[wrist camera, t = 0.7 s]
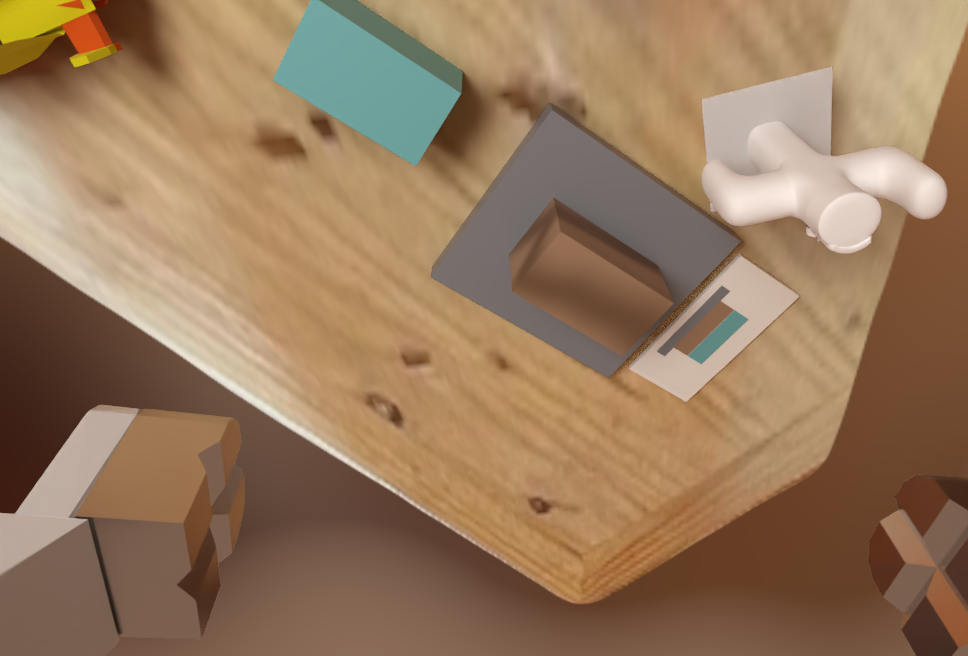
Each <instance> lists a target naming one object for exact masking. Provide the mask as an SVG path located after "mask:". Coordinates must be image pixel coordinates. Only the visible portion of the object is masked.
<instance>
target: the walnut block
mask: <svg viewBox="0 0 968 656" xmlns="http://www.w3.org/2000/svg"><path fill="white" fill-rule="evenodd" d="M509 259H510V272H511V285H512V292H513V293H515V294H516V295H518V296H520V297H522V298H523V299H525V300H527V301H528V302H530V303H532V304H533V305H535V306H537V307H539V308H540V309H542V310H544V311H545V312H547V313H549V314H551V315H552V316H554V317H556V318H557V319H559V320H561V321H563V322H564V323H566V324H568V325H569V326H571V327H573V328H575V329H576V330H578V331H580V332H581V333H583V334H585V335H587V336H588V337H590V338H592V339H593V340H595V341H597V342H599V343H600V344H602V345H604V346H605V347H607V348H609V349H611V350H612V351H614V352H616V353H617V354H619V355H621V356H624V355H625V354H626V353H627V352H628V351H629V349H630V348H631V347H632V346H633V345H634V344H635V343H636V342H637V341H638V340H639V339H640V338H641V337H642V336H643V335H644V334H645V333H646V332H647V331H648V330H649V329H650V328H651V327H652V326H653V325H654V324H655V323H656V321H657V320H658V319H659V318H660V317H661V316H662V315H663V314H664V313H665V312H666V311H667V310H668V309H669V308H670V307H671V306H672V305H673V304H674V302H673V300H672V298H671V295H670V293H669V291H668V288H667V286H666V284H665V282H664V279H663V277H662V275H661V272H660V270H659V268H658V265H656V264H655V263H653V262H652V261H650V260H649V259H647V258H646V257H644V256H643V255H641V254H640V253H638V252H636V251H635V250H633V249H632V248H630V247H629V246H627V245H626V244H624V243H623V242H621V241H620V240H618V239H616V238H615V237H613V236H612V235H610V234H609V233H607V232H606V231H604V230H603V229H601V228H599V227H598V226H596V225H595V224H593V223H592V222H590V221H589V220H587V219H586V218H584V217H583V216H581V215H579V214H578V213H576V212H575V211H573V210H572V209H570V208H569V207H567V206H566V205H564V204H563V203H561V202H559V201H558V200H556V199H555V198H553V199H552V200H551V201H550V202H549V204H548V205H547V206H546V208H545V209H544V210H543V211H542V213H541V214H540V215H539V217H538V218H537V219H536V220H535V222H534V223H533V224H532V225H531V227H530V228H529V229H528V231H527V232H526V233H525V234H524V236H523V237H522V238H521V240H520V241H519V242H518V243H517V245H516V246H515V247H514V249H513V250H512V251H511V252H510V254H509Z"/></svg>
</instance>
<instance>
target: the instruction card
mask: <svg viewBox="0 0 968 656" xmlns="http://www.w3.org/2000/svg"><path fill="white" fill-rule="evenodd" d="M799 297H800V296H799V295H798V293H796V292H795V291H793V290H792V289H790V288H789V287H787V286H786V285H785V284H783V283H782V282H780V281H779V280H777V279H776V278H774V277H773V276H772V275H770V274H769V273H767V272H766V271H764V270H763V269H761V268H760V267H758V266H757V265H756V264H754V263H753V262H751V261H750V260H748V259H747V258H745V257H744V256H743V255H741V254H740V253H739V254H738V255H737V256H736V257H735V258H734V259H733V260H732V261H731V262H730V263H729V264H728V265H727V266H726V267H725V268H724V269H723V270H722V271H721V272H720V273H719V274H718V275H717V276H716V277H715V278H714V279H713V281H712V282H711V283H710V284H709V285H708V286H707V287H706V288H705V289H704V290H703V291H702V292H701V293H700V294H699V295H698V296H697V297H696V298H695V299H694V300H693V301H692V302H691V303H690V304H689V305H688V306H687V307H686V308H685V309H684V310H683V311H682V312H681V313H680V314H679V315H678V316H677V317H676V318H675V319H674V320H673V321H672V322H671V323H670V324H669V325H668V326H667V327H666V329H665V330H664V331H663V332H662V333H661V334H660V335H659V336H658V337H657V338H656V339H655V340H654V341H653V342H652V343H651V344H650V345H649V346H648V347H647V348H646V349H645V350H644V351H643V352H642V353H641V354H640V355H639V356H638V357H637V358H636V359H635V360H634V361H633V362H632V363H631V364H630V365H629V369H630V370H632V371H633V372H635V373H637V374H639V375H640V376H642V377H644V378H646V379H647V380H649V381H651V382H652V383H654V384H656V385H658V386H659V387H661V388H663V389H665V390H666V391H668V392H670V393H671V394H673V395H675V396H677V397H678V398H680V399H682V400H684V401H685V402H687V401H688V400H689V399H690V398H691V397H692V396H693V395H694V394H696V393H697V392H698V391H699V390H700V389H701V388H702V387H703V386H704V385H705V384H706V383H707V382H708V381H709V380H711V379H712V378H713V377H714V376H715V375H716V374H717V373H718V372H719V371H720V370H721V369H722V368H723V367H725V366H726V365H727V364H728V363H729V362H730V361H731V360H732V359H733V358H734V357H735V356H736V355H737V354H738V353H740V352H741V351H742V350H743V349H744V348H745V347H746V346H747V345H748V344H749V343H750V342H751V341H752V340H753V339H755V338H756V337H757V336H758V335H759V334H760V333H761V332H762V331H763V330H764V329H765V328H766V327H767V326H769V325H770V324H771V323H772V322H773V321H774V320H775V319H776V318H777V317H778V316H779V315H780V314H781V313H782V312H784V311H785V310H786V309H787V308H788V307H789V306H790V305H791V304H792V303H793V302H794V301H795V300H796V299H797V298H799Z"/></svg>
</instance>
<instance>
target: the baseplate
mask: <svg viewBox="0 0 968 656" xmlns="http://www.w3.org/2000/svg"><path fill="white" fill-rule="evenodd" d="M553 198H555V199H556V200H558V201H559V202H561V203H563V204H564V205H566V206H567V207H569V208H570V209H572V210H573V211H575V212H576V213H578V214H579V215H581V216H583V217H584V218H586V219H587V220H589V221H590V222H592V223H593V224H595V225H596V226H598V227H599V228H601V229H603V230H604V231H606V232H607V233H609V234H610V235H612V236H613V237H615V238H616V239H618V240H620V241H621V242H623V243H624V244H626V245H627V246H629V247H630V248H632V249H633V250H635V251H636V252H638V253H640V254H641V255H643V256H644V257H646V258H647V259H649V260H650V261H652V262H653V263H655V264H656V265H658V268H659V270H660V272H661V275H662V277H663V279H664V282H665V284H666V286H667V288H668V291H669V293H670V295H671V298H672V300H673V302H674V304H673V305H672V306H671V307H670V308H669V309H668V310H667V311H666V312H665V313H664V314H663V315H662V316H661V317H660V318H659V319H658V320H657V321H656V323H655V324H654V325H653V326H652V327H651V328H650V329H649V330H648V331H647V332H646V333H645V334H644V335H643V336H642V337H641V338H640V339H639V340H638V341H637V342H636V343H635V344H634V345H633V346H632V347H631V348H630V349H629V351H628V352H627V353H626V354H625V355H624V356H621V355H619V354H617V353H616V352H614V351H612V350H611V349H609V348H607V347H605V346H604V345H602V344H600V343H599V342H597V341H595V340H593V339H592V338H590V337H588V336H587V335H585V334H583V333H581V332H580V331H578V330H576V329H575V328H573V327H571V326H569V325H568V324H566V323H564V322H563V321H561V320H559V319H557V318H556V317H554V316H552V315H551V314H549V313H547V312H545V311H544V310H542V309H540V308H539V307H537V306H535V305H533V304H532V303H530V302H528V301H527V300H525V299H523V298H522V297H520V296H518V295H516V294H515V293H513V292H512V285H511V272H510V259H509V254H510V252H511V251H512V250H513V249H514V247H515V246H516V245H517V243H518V242H519V241H520V240H521V238H522V237H523V236H524V234H525V233H526V232H527V231H528V229H529V228H530V227H531V225H532V224H533V223H534V222H535V220H536V219H537V218H538V217H539V215H540V214H541V213H542V211H543V210H544V209H545V208H546V206H547V205H548V204H549V202H550V201H551V200H552V199H553ZM740 242H741V241H740V240H739V238H738V237H737V235H736V234H735V232H734V231H732V230H731V229H729V228H728V227H727V226H725V225H724V224H722V223H721V222H719V221H718V220H717V219H715V218H714V217H712V216H711V215H709V214H708V213H707V212H705V211H704V210H702V209H701V208H699V207H698V206H697V205H695V204H694V203H692V202H691V201H689V200H688V199H687V198H685V197H684V196H682V195H681V194H679V193H678V192H677V191H675V190H674V189H672V188H671V187H669V186H668V185H667V184H665V183H664V182H662V181H661V180H660V179H658V178H657V177H655V176H654V175H652V174H651V173H650V172H648V171H647V170H645V169H644V168H642V167H641V166H640V165H638V164H637V163H635V162H634V161H632V160H631V159H630V158H628V157H627V156H625V155H624V154H622V153H621V152H620V151H618V150H617V149H615V148H614V147H612V146H611V145H610V144H608V143H607V142H605V141H604V140H602V139H601V138H600V137H598V136H597V135H595V134H594V133H593V132H591V131H590V130H588V129H587V128H585V127H584V126H583V125H581V124H580V123H578V122H577V121H575V120H574V119H573V118H571V117H570V116H568V115H567V114H565V113H564V112H563V111H561V110H560V109H558V108H557V107H555V106H554V105H553V104H551V103H549V105H548V106H547V107H546V109H545V110H544V112H543V113H542V114H541V116H540V117H539V118H538V120H537V121H536V123H535V124H534V125H533V127H532V128H531V130H530V131H529V132H528V134H527V135H526V137H525V138H524V139H523V141H522V142H521V144H520V145H519V146H518V148H517V149H516V151H515V152H514V153H513V155H512V156H511V157H510V159H509V160H508V162H507V163H506V164H505V166H504V167H503V169H502V170H501V171H500V173H499V174H498V176H497V177H496V178H495V180H494V181H493V183H492V184H491V185H490V187H489V188H488V190H487V191H486V192H485V194H484V195H483V196H482V198H481V199H480V201H479V202H478V203H477V205H476V206H475V208H474V209H473V210H472V212H471V213H470V215H469V216H468V217H467V219H466V220H465V222H464V223H463V224H462V226H461V227H460V228H459V230H458V231H457V233H456V234H455V235H454V237H453V238H452V240H451V241H450V242H449V244H448V245H447V247H446V248H445V249H444V251H443V252H442V254H441V255H440V256H439V258H438V259H437V261H436V262H435V263H434V265H433V266H432V272H431V278H433V279H435V280H437V281H438V282H440V283H442V284H444V285H446V286H447V287H449V288H451V289H453V290H454V291H456V292H458V293H460V294H461V295H463V296H465V297H467V298H468V299H470V300H472V301H474V302H476V303H477V304H479V305H481V306H483V307H484V308H486V309H488V310H490V311H491V312H493V313H495V314H497V315H498V316H500V317H502V318H504V319H506V320H507V321H509V322H511V323H513V324H514V325H516V326H518V327H520V328H521V329H523V330H525V331H527V332H528V333H530V334H532V335H534V336H536V337H537V338H539V339H541V340H543V341H544V342H546V343H548V344H550V345H551V346H553V347H555V348H557V349H558V350H560V351H562V352H564V353H566V354H567V355H569V356H571V357H573V358H574V359H576V360H578V361H580V362H581V363H583V364H585V365H587V366H588V367H590V368H592V369H594V370H596V371H597V372H599V373H601V374H603V375H604V376H606V377H608V378H609V377H610V376H611V375H612V374H613V373H614V372H615V371H616V370H617V369H618V368H619V367H620V366H621V365H622V364H623V363H624V362H625V361H626V360H627V358H628V357H629V356H630V355H631V354H632V353H633V352H634V351H635V350H636V349H637V348H638V347H639V346H640V345H641V344H642V343H643V342H644V341H645V340H646V339H647V338H648V337H649V336H650V335H651V334H652V333H653V332H654V331H655V330H656V329H657V328H658V327H659V326H660V325H661V323H662V322H663V321H664V320H665V319H666V318H667V317H668V316H669V315H670V314H671V313H672V312H673V311H674V310H675V309H676V308H677V307H678V306H679V305H680V304H681V303H682V302H683V301H684V300H685V299H686V298H687V297H688V296H689V295H690V294H691V293H692V292H693V291H694V289H695V288H696V287H697V286H698V285H699V284H700V283H701V282H702V281H703V280H704V279H705V278H706V277H707V276H708V275H709V274H710V273H711V272H712V271H713V270H714V269H715V268H716V267H717V266H718V265H719V264H720V263H721V262H722V261H723V260H724V259H725V258H726V257H727V256H728V254H729V253H730V252H731V251H732V250H733V249H734V248H735V247H736V246H737V245H738V244H739V243H740Z"/></svg>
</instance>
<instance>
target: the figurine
mask: <svg viewBox="0 0 968 656" xmlns="http://www.w3.org/2000/svg"><path fill="white" fill-rule="evenodd" d="M832 68H833V67H829V68H825V69H821V70H817V71H813V72H808V73H804V74H800V75H796V76H792V77H788V78H784V79H780V80H776V81H772V82H768V83H764V84H760V85H756V86H752V87H748V88H744V89H740V90H736V91H732V92H728V93H724V94H720V95H716V96H712V97H708V98H704V99H702V110H703V122H704V134H705V146H706V158H707V164H706V166H705V167H704V169H703V172H702V187H703V190H704V192H705V194H706V196H707V197H708V199H709V200H710V207H711V212H713V211H717V212H718V213H719V215H720V216H721V217H722V218H723V219H724V220H725V221H726V222H727V223H729V224H731V225H733V226H739V227H743V226H750V225H754V224H759V223H763V222H768V221H772V220H777V219H781V218H786V217H794V218H798V219H800V220H801V221H803V222H805V224H807V225H806V234H807V235H808V236H811V237H817V240H818V242H819V241H821V242H822V243H823V244H824V245H825V246H826V247H827V248H828V249H829V250H831V251H834V252H836V253H841V254H849V253H854V252H857V251H859V250H861V249H864V248H865V247H867V246H868V245H869V244H870V243H871V241H872V236H871V235H872V234H873V233H874V231H875V230H876V229H877V227H878V225H879V223H880V220H881V215H882V213H881V207H880V204H879V202H878V201H877V200H876V199H875V198H881V199H886V200H889V201H892V202H894V203H896V204H898V205H899V206H901V207H902V208H904V209H905V210H906V211H908V212H909V213H910V214H911V215H913V216H914V217H916V218H919V219H931V218H933V217H935V216H936V215H938V214H939V213H940V212H941V211H942V209H943V208H944V206H945V203H946V199H947V187H946V183H945V181H944V180H943V178H942V177H941V176H940V175H939V174H938V173H936V172H935V171H934V170H932V169H931V168H929V167H928V166H926V165H925V164H924V163H922V162H921V161H919V160H918V159H916V158H915V157H914V156H912V155H911V154H909V153H907V152H906V151H904V150H902V149H899V148H897V147H892V146H880V147H874V148H870V149H865V150H861V151H857V152H853V153H848V154H844V155H839V156H831V119H832Z"/></svg>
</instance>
